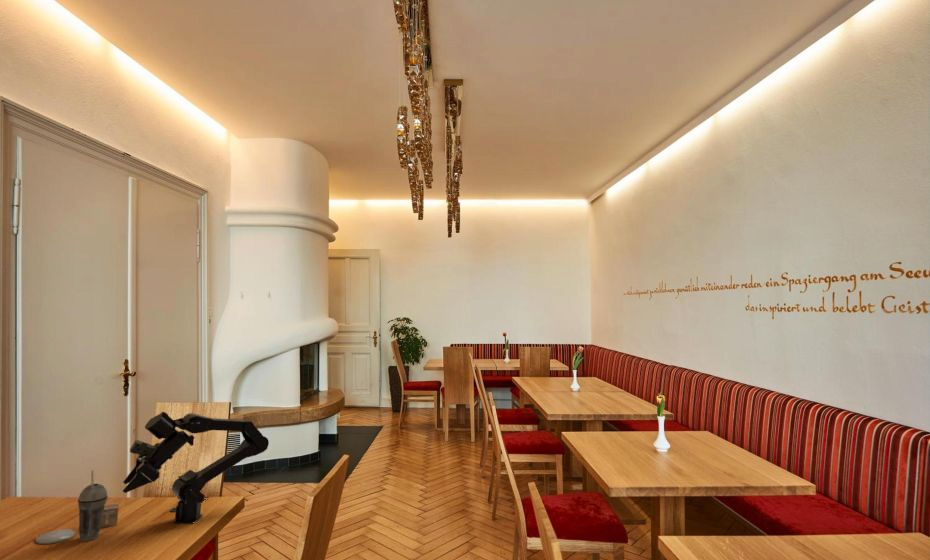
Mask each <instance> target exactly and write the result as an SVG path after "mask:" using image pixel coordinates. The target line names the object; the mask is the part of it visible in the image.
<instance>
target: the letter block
mask: <svg viewBox="0 0 930 560" xmlns="http://www.w3.org/2000/svg"><path fill="white" fill-rule="evenodd" d="M119 505H120V502H119V501H116V502H109V503H105V506H104V511H103V516H102V521H101V526H100V527H102V528H108V527H113V526H114V525H115V526H117V525H118V516H119ZM107 526H108V527H107ZM115 526H114V527H115Z"/></svg>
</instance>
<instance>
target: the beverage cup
mask: <svg viewBox="0 0 930 560" xmlns="http://www.w3.org/2000/svg"><path fill="white" fill-rule="evenodd" d="M90 475H91V482H90V483H91V484H89V485H87V486H86V487H85V488H83V489H82V491H81V492H80V493H79V496H78V499H77V503H78V504H77V505H78V508H79V511H78V512H79V514H78V515H79V516H78V520H79V521H78V522H79V523H78V528H79V530H78V535H79V539H80V540H79V541H80V542H89V541H93V539H94V540H96V539H98V538H97V537H99V533H100V532H101V531H100V530H101V528H100V526H101V521H102V516H103V511H104V506H105V504H107V499H108V492H107V489H106V487H105V486H104V485H102V484H100V483H94V482H95V481H94V479H95V478H94V477H95V475H94V469H93V470H91V474H90Z"/></svg>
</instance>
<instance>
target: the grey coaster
mask: <svg viewBox="0 0 930 560" xmlns="http://www.w3.org/2000/svg"><path fill="white" fill-rule="evenodd" d="M75 535H76V531H75V530H74V529H70V528H69V529H66V528H65V529H64V528H63V529H57V530H56V529H55V530H52V531H48V532H45V533H42V534H40V535H38V536H37V537H36V538H35V543H36V544H37V545H53V544H52V543H54V544H59V543H62V542H66V541H69V540H70V539H72V538H73V537H74V536H75Z"/></svg>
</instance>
